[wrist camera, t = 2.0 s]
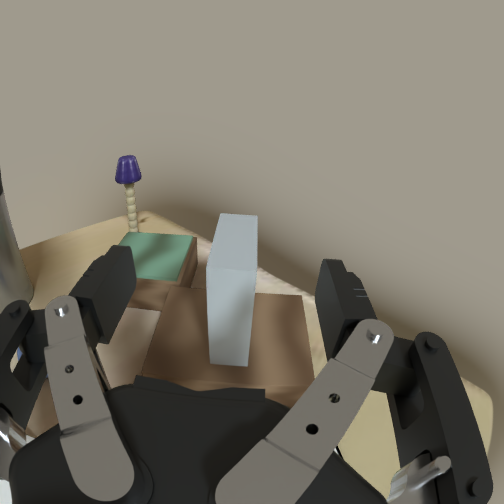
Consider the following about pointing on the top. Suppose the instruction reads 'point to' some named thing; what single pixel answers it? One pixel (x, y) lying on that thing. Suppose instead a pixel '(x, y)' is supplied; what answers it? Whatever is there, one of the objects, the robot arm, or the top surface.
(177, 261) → the plinth
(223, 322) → the block
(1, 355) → the robot arm
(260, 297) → the brown wooden flat slab
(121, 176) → the toy lamp
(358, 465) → the top surface
